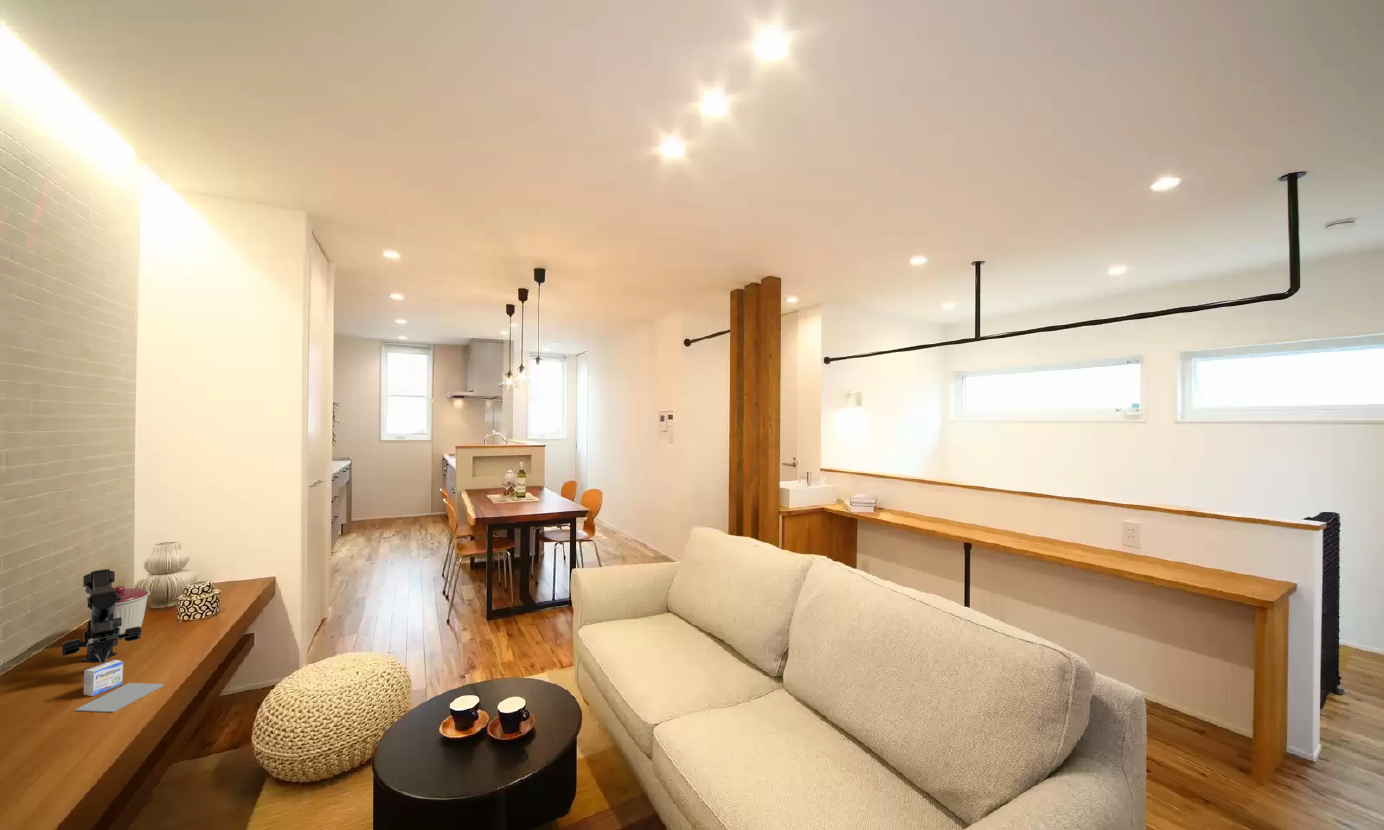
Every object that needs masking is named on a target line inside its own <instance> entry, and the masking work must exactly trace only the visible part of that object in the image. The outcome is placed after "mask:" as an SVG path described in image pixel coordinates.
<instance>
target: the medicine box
mask: <svg viewBox="0 0 1384 830" xmlns="http://www.w3.org/2000/svg"><path fill="white" fill-rule="evenodd" d="M83 672H84V673H83V695H84V696H90V697H95V696H99V695H100V694H102V693H105V692H107V691H110V690H112V689H115V688H117V687H118V688H119V687H121V686H123V674H124V673H123V672H124V661H122V660H119V659H113V660H110V661H107V662H104V663H101V664H98V665H96V666H93V667H90V668H87V669H85V670H84V671H83Z"/></svg>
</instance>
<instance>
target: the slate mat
mask: <svg viewBox="0 0 1384 830" xmlns="http://www.w3.org/2000/svg"><path fill="white" fill-rule="evenodd" d="M163 687H165V684H163V683H161V684H160V683H144V682H143V683H142V682H141V683H140V682H139V683H138V682H128V683H127V684H124V685H121V686H119V687H118V688H116V689H114V690H112V691H110V692H108V693H106V694H104V695H102V696H100V697H98V698H96V699H94V700H92V701H90V702H88V703H85V704H84V705H82V706H79V707H77V708H75V709H74V712H89V713H90V712H91V713H92V712H95V713H112V714H113V713H116V711H119V710H121V709H123V708H124V707H126V706H129V705H131V704H132V703H134V702H136V701H137V700H140V699H142V698H143V697H145V696H147V695H149V694H152V693H153V692H155V691H157V690H159V689H161V688H163Z"/></svg>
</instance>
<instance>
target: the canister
mask: <svg viewBox="0 0 1384 830" xmlns="http://www.w3.org/2000/svg"><path fill="white" fill-rule="evenodd" d="M114 588H115V593H117V592H118V594H119V595H120V596H121V600H120V601H119V602H118V603H116V607H115V611H114V618H119V617H122V625H121V626H120V627H119V628H120V631H119V634H120V633H125V630H126V629H128V628H132V627H137V626H139V627H141V628H142V626H143V621H144V618H145V614H146V613H145V611H146V607H147V602H148V596H149V595H150V594H151V591H150V590H148V589H144V588H140V587H138V588H137V587H136V588H132V587H131V588H130V587H129V588H126V586H123V585H117V586H116V587H114ZM85 605H86V606H87V601H85ZM87 609H88V615H89V616H88V617H89V621H90V620H91V613H92V609H90V608H87Z"/></svg>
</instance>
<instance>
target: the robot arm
mask: <svg viewBox="0 0 1384 830" xmlns="http://www.w3.org/2000/svg"><path fill="white" fill-rule="evenodd" d="M115 574H116V572H115V570H114V571H113V570H110V568H103V569H96V570H93V571H91V572H90V573H88V574H85V575H83V577H82V587H83V588H85V593H87V594H88V595H89V596H88V597H86V602H87V605H86V608H87V609H88V608H90V609H92V613H91V620H90V619H89V621H88V622H87V624H86V630H84V631H83V637H82V641H81V639H80V638H75V639H71V640H67V641H64V642H63V643H62V644H61V646H62V647H61V648H62V649H61V655H62V656H68V655H72V654H73V655H74V654H77V653H78V652H79V651H80V648H86V657H85V658H83V659H81V662H87V663H89V662H91V663H93V662H94V663H98V662H99V663H101V664H104V663H106V660H107V659H108V658H111V657H113V656H115V655H117V652H113V651H114V647H117V646H118V645H119V640H120V639H121V640H122V639H124V641H126V642H131V641H136V640H140V639H141V634H142V626H141V627H139V626H137V627H132V628H128V629H126V630H125V633H120V634H119V631H120V628H119V627H120V626H121V625H122V617H119V618H114V611H115V607H116V603H118V602H119V601H120V600H121V596H120V595H119V594H118V592H117V593H115V587H112V585H113V583H114V582H115V581H116V580H115V578H116V576H115Z"/></svg>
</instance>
